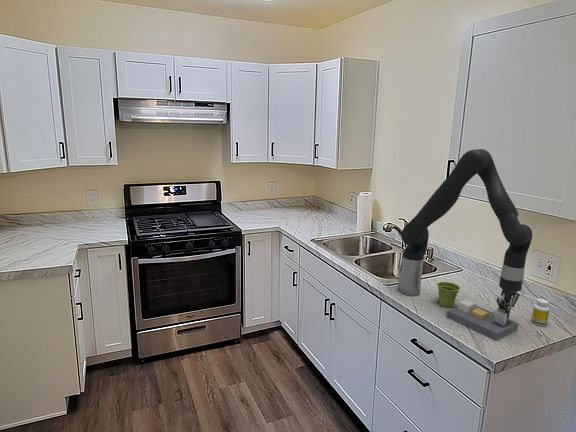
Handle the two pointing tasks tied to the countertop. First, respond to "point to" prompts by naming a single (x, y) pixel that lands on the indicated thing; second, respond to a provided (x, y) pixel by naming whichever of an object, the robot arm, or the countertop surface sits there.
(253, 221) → the countertop surface
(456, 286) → the plant pot
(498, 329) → the panel
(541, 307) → the supplement bottle
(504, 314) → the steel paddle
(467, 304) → the ivory button
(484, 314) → the amber button
